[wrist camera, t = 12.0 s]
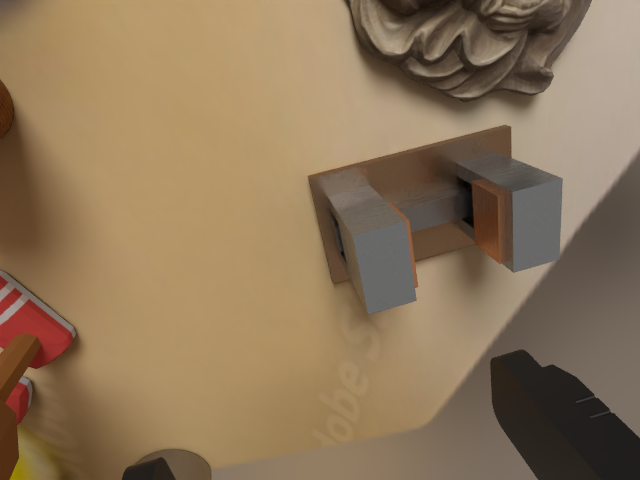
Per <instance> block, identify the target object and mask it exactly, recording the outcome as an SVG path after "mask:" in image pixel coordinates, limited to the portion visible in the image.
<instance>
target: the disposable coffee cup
mask: <svg viewBox="0 0 640 480" xmlns="http://www.w3.org/2000/svg"><path fill="white" fill-rule="evenodd" d="M13 110H14V109H13V104H12V100H11V97H10V95H9V93H8V90H7V89H6V87H5V85H4V84H3V83H2V81H1V80H0V138H1V137H3V135H4V134H5V133H6V132H7V131H8V130H9V128H10V127H11V123H12V120H13Z"/></svg>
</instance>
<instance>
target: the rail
mask: <svg viewBox="0 0 640 480" xmlns="http://www.w3.org/2000/svg"><path fill="white" fill-rule="evenodd" d="M308 177H309V182H310V186H311V190H312V195H313V199H314V204H315V208H316V212H317V217H318V221H319V225H320V230H321V234H322V239H323V243H324V247H325V252H326V256H327V261H328V265H329V269H330V274H331V278H332V281H333V283H338V282H342V281H345V280H349V279H350V278H349V276H348V274H347V272H346V270H345V268H344V266H343V264H342V260H341V255H340V252H341V251H344V249H343V244H342V240H341V235H340V230H339V226H338V221H337V220H336V218H335V216H334V215H333V213H332V211H331V210H330V205H329V200H328V197H329V196H333V195H336V194H340V193H344V192H348V191H351V190H355V189H359V188H362V187H366V186H371V187H372V188H373V189H374V190H375V191H376V192H377V193H378V194H379V195H380V196H381V197H382V198H383V199H384V200H385V201H386V202H387V203H388V204H390V203H392V204H393V205H394V206H395V207H396V208H397V209H398V210H399V211H400V212H401V213H402V214H403V215H404V216H405V217H406V218H407V219H408V220H409V222H410V230H411V237H412V245H413V252H414V260H415V261H417V260H420V259H424V258H427V257H431V256H435V255H438V254H442V253H445V252H449V251H452V250H456V249H460V248H463V247H467V246H470V245H474V244H476V245H477V246H478V247H480V248H481V249H482V250H483V251H484V252H486V253H487V254H488V255H489V256H491V257H492V258H493V259H494V260H496V261H497V262H498V263H499V264H501V263H502V264H503V265H505V266H506V267H507V268H508V269H510V270H511V271H512V272H513V273H514V272H518V271H521V270H525V269H528V268H532V267H535V266H539V265H542V264H545V263H549V262H552V261H556V260H559V254H560V229H561V204H562V179H563V178H560V177H558V176H555V175H553V174H550V173H548V172H545V171H543V170H540V169H538V168H535V167H533V166H530V165H528V164H525V163H523V162H520V161H518V160H515V159H512V158H511V127H510V126H507V125H503V126H499V127H495V128H491V129H488V130H484V131H480V132H476V133H472V134H468V135H464V136H460V137H457V138H453V139H449V140H445V141H441V142H437V143H433V144H430V145H426V146H422V147H418V148H414V149H410V150H406V151H402V152H399V153H395V154H391V155H387V156H383V157H379V158H375V159H371V160H368V161H364V162H360V163H356V164H352V165H348V166H344V167H341V168H337V169H333V170H329V171H325V172H321V173H317V174H313V175H310V176H308Z"/></svg>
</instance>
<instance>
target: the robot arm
mask: <svg viewBox="0 0 640 480" xmlns="http://www.w3.org/2000/svg"><path fill="white" fill-rule="evenodd" d="M490 366H491V387H492V404H493V408H494V412H495V415H496V417H497V419H498V422H499V424H500V426H501V427H502V429H503V430H504V432H505V433H506V435H507V436H508V437H509V439H510V440H511V442H512V443H513V444H514V446H515V447H516V449H517V450H518V452H519V453H520V454H521V456H522V457H523V459H524V460H525V462H526V463H527V464H528V466H529V467H530V469H531V470H532V471H533V473H534V474H535V476H536V477H537V479H538V480H640V438H639V437H638V436H637V435H636V434H635V433H634V432H633V431H632V430H631V429H630V428H628V426H627V425H626V424H625V423H623V422H622V421H621V420H620V419H619V418H618V417H617V416H616V415H615V414H614V413H611V412H610V409H609V408H608V407H607V406H606V405H605V404H604V403H603V402H602V401H600V399H598V398H596V397H595V396H594V394H593V393H592V392H591V391H590V390H589V389H588V388H587V387H586V386H585V385H584V384H583V383H582V382H581V381H580V380H579V379H577V377H575V376H573V375H571V374H570V373H568V372H565V371H564V370H562V369H560V368H558V367H556V366H554V365H549V366H546V367H543V368H542V367H541V366H540V365H539V364H538V363H537V362H536V361H535V360H534V358H533V357H532V356H531V355H530V354H529V353H527V352H526V351H525V350H518V351H514V352H511V353H508V354H504V355H501V356H498V357H494V358H492V359H491V363H490ZM122 480H211V470H210V468H209V465H208V464H207V463H206V461H205V460H204V459H202V458H201V457H200V456H198V455H196V454H194V453H191V452H187V451H183V450H164V451H160V452H155V453H153V454H150V455H148V456H146V457H144V458H143V459H141V460H140V461H139V462H137V463H136V464H135V465H133V466H130V467H128V468H127V469H126V470H125V472H124V474H123V478H122Z"/></svg>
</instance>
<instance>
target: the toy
mask: <svg viewBox="0 0 640 480" xmlns="http://www.w3.org/2000/svg"><path fill="white" fill-rule="evenodd" d="M75 336H76V333H75V330H74V327H73V326H71V325H70V324H69V323H68V322H66V321H65V320H64V319H63V318H61V317H60V316H59V315H58V314H56V313H55V312H54V311H53V310H51V309H50V308H49V307H48V306H46V305H45V304H44V303H43V302H41V301H40V300H39V299H38V298H36V297H35V296H34V295H33V294H31V293H30V292H29V291H28V290H27V289H25V288H24V287H23V286H22V285H20V284H19V283H18V282H17V281H15V280H14V279H13V278H12V277H10V276H9V275H8V274H7V273H5V272H4V271H1V270H0V347H2V348H3V349H4V350H3V352H2V353H1V354H0V480H9V479H10V477H11V475H12V472H13V470H14V468H15V466H16V463H17V461H18V459H19V451H18V435H17V425H18V424H19V423H20V422H21V421H22V419H23V417H24V415H25V414H26V412H27V410H28V408H29V407H30V405H31V398H32V385H31V382H30V380H29V379H27V378H25V377H22V376H23V374H24V372H25V371H26V369H27V368H28V367H31V368H35V369H37V368H40V367H42V366H44V365H47V364H49V363H50V362H51V361H53V360H54V359H56V358H57V357H59V356H60V355H61V354H63V353H64V352H66V350H67V349H68V347H69V346H70V345H71V343H72V341H73V339H74V337H75Z"/></svg>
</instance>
